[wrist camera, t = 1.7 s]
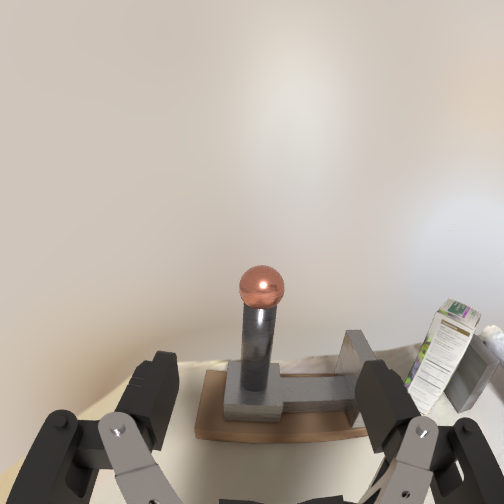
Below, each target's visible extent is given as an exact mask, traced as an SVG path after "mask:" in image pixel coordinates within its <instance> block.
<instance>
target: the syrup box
mask: <svg viewBox="0 0 504 504" xmlns="http://www.w3.org/2000/svg"><path fill="white" fill-rule="evenodd" d="M480 317H481V314H480V313H479V312H477V311H476V310H474V309H473V308H470V307H469V306H467V305H465V304H463V303H460V302H457V301H455V300H451V299H448V300H447V301H446V302H445V303H444V305H443V306H442V307H441V308H440V309H439V310H438V311H437V312H436V313H435V316H434V318H433V321H432V323H431V326H430V328H429V331H428V333H427V336H426V338H425V340H424V343H423V345H422V347H421V349H420V352H419V354H418V356H417V358H416V360H415V362H414V365H413V367H412V369H411V371H410V373H409V375H408V377H407V379H406V381H405V383H404V384H405V385H404V386H406V388H407V390H408V393H410V395H411V397H412V399H413V401H414V403H415V405H416V406H417V408H418V410H419V412H421V413H423V414H425V415H427V414H428V413H429V412H430V410H431V409H432V407H433V406H434V404H435V403H436V402H437V400H438V399H439V397H440V396H441V394H442V392H443V391H444V389H445V388H446V386H447V384H448V383H449V381H450V379H451V377H452V376H453V374H454V372H455V370H456V369H457V367H458V365H459V363H460V361H461V359H462V357H463V355H464V353H465V351H466V349H467V347H468V345H469V343H470V341H471V339H472V336H473V334H474V332H475V330H476V327H477V325H478V323H479V320H480Z"/></svg>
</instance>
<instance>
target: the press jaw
mask: <svg viewBox="0 0 504 504" xmlns="http://www.w3.org/2000/svg"><path fill="white" fill-rule="evenodd" d="M239 293H240V296H241V298H242V300H243V301H244V313H243V331H242V352H241V362H240V361H229V363H228V371H227V379H226V387H225V396H224V420H230V421H246V422H280V418H281V413H282V412H318V411H334V410H346V411H347V414H348V417H349V421H350V424H351V428H358V427H365V424H364V421H363V418H362V415H361V413H360V410H359V407H358V404H357V401H356V398H355V385H356V383H357V380H358V378H359V375H360V372H361V370H362V367H363V364H364V362H365V361H367V360H377V359H376V357H375V355H374V353H373V351H372V350H371V348H370V346H369V344H368V342H367V340H366V339H365V337H364V335H363V333H362V331H361V330H346V333H345V337H344V340H343V344H342V347H341V351H340V354H339V358H338V361H337V365H336V368H335V371H334V373H335V376H334V377H280V369H279V363H270V360H271V352H272V344H273V335H274V327H275V319H276V309H277V304H278V303H279V302H280V301H281V298H282V297H283V294H284V282H283V279H282V277H281V275H280V274H279V273H278V272H277V271H276V270H275V269H273V268H271V267H269V266H264V265H261V266H255V267H252V268H250V269H249V270H247V271H246V272H245V273H244V275H243V276H242V278H241V280H240V284H239Z"/></svg>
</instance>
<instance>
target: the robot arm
mask: <svg viewBox="0 0 504 504" xmlns="http://www.w3.org/2000/svg"><path fill="white" fill-rule="evenodd" d="M404 385H405V384H404V383H403V381H402V379H401V377H400V376H399V375H398V374H397V373H395V372H394V371H393V370H388V368H387V366H386V364H385V362H384V361H383V360H367V361H365V362H364V364H363V367H362V370H361V372H360V375H359V378H358V380H357V383H356V385H355V398H356V401H357V404H358V407H359V410H360V413H361V415H362V418H363V421H364V424H365V427H366V430H367V433H368V436H369V439H370V442H371V445H372V448H373V451H374V454H375V453H380V452H384V454H385V457H384V458H383V460H382V462H381V464H380V466H379V468H378V470H377V472H376V474H375V476H374V478H373V480H372V482H371V483H370V485H369V487H368V489H367V491H366V492H365V494H364V495H363V496H362V498H361V499H360V500H359V502H358V503H353V502H347V501H343V496H342V495H340V496H333V497H325V498H316V499H311V500H308V501H305V502H301V503H298V504H423V503H424V500H425V497H426V494H427V492H428V489H429V486H430V488H431V491H432V494H433V497H434V501H435V504H504V476H503V474H502V471H501V469H500V467H499V465H498V463H497V461H496V458H495V456H494V454H493V452H492V450H491V448H490V446H489V444H488V442H487V440H486V439H485V437H484V435H483V433H482V431H481V429H480V427H479V426H478V424H477V423H476V422H475V421H474V420H472V419H470V418H460V419H459V420H457V421H456V423H455V424H454V425H453V426H437V424H436V423H435V422H434V421H433V420H432V419H430V418H428V417H425V416H421V414H420V412H419V410H418V408H417V406H416V405H415V403H414V401H413V399H412V397H411V395H410V393H408V390H407V388H406V386H404ZM178 390H179V373H178V365H177V357H176V354H175V353H172V352H165V351H157V353H156V354H155V357H154V359H153V361H144V362H143V363H141V364H140V365H139V366H138V367H137V368H136V369H135V371H134V373H133V375H132V378H131V379H130V381H129V385H127V387H126V389H125V391H124V393H123V395H122V397H121V399H120V401H119V403H118V405H117V407H116V409H115V411H114V412H111V413H108V414H106V415H105V416H103V417H102V418H101V420H96V421H92V420H77V418H76V416H75V415H74V414H73V413H72V412H70V411H67V410H56V411H54V412H52V413H51V414H49V416H48V417H47V418H46V420H45V422H44V424H43V426H42V427H41V429H40V431H39V433H38V435H37V437H36V439H35V441H34V443H33V445H32V446H31V449H30V450H29V452H28V454H27V456H26V459H25V461H24V463H23V465H22V467H21V469H20V471H19V473H18V476H17V478H16V480H15V482H14V485H13V487H12V489H11V492H10V494H9V497H8V499H7V502H6V504H89V502H90V498H91V495H92V492H93V488H94V485H95V482H96V479H97V475H98V472H99V469H114V472H115V479H116V482H117V484H118V486H119V488H120V491H121V493H122V495H123V497H124V499H125V501H126V503H127V504H183V503H182V502H181V500H180V499H179V497H178V496H177V494H176V493H175V491H174V490H173V488H172V487H171V485H170V484H169V482H168V480H167V479H166V477H165V475H164V474H163V472H162V470H161V469H160V467H159V466H158V464H157V463H156V462H155V460H154V458H153V457H152V455H151V453H152V450H158V451H161V449H162V445H163V442H164V438H165V435H166V431H167V428H168V424H169V421H170V417H171V414H172V411H173V407H174V404H175V401H176V397H177V394H178ZM457 460H458V461H459V464H460V466H461V469H462V471H463V474H464V481H462V478H461V476H460V473H459V471H458V468H457V466H456V463H455V462H456V461H457ZM219 504H263V503H258V502H254V501H243V500H227V499H219Z"/></svg>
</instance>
